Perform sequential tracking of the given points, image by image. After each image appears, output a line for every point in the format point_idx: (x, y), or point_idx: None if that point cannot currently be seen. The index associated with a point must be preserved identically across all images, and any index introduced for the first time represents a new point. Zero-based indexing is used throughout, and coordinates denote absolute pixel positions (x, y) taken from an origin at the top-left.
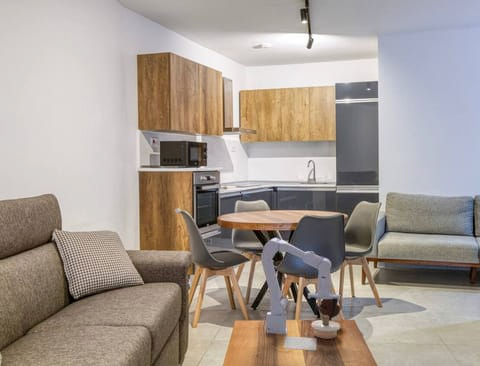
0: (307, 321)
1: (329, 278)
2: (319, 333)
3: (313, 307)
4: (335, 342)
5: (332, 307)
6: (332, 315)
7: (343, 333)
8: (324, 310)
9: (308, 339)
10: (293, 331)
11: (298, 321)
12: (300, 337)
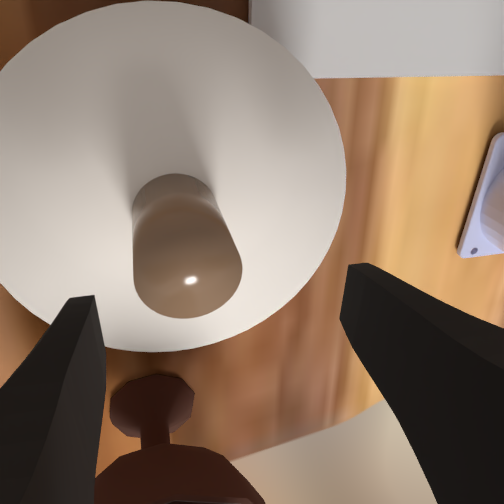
0: (304, 413)
1: None
2: None
3: (467, 314)
4: (32, 22)
5: (43, 402)
6: (72, 299)
7: (5, 295)
8: (213, 483)
9: (332, 27)
10: (420, 222)
11: (359, 394)
12: (399, 71)
